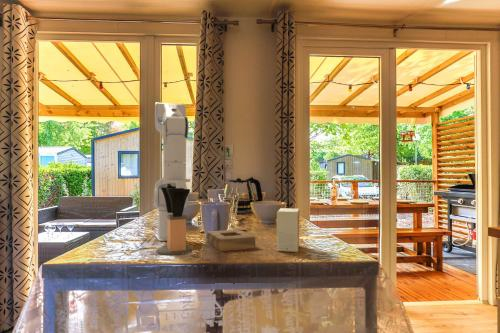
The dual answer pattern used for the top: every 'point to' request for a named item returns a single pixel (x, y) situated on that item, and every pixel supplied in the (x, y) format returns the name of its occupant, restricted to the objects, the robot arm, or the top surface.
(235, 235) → the tan square socket
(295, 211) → the small box
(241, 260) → the top surface
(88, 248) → the top surface
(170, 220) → the plug
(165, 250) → the coaster
